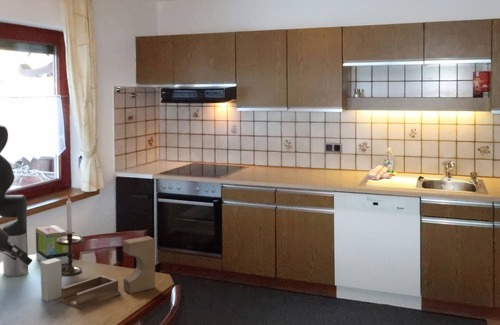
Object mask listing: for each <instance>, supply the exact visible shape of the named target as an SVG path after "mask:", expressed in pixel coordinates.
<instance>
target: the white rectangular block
mask: <svg viewBox="0 0 500 325" xmlns="http://www.w3.org/2000/svg"><path fill="white" fill-rule="evenodd" d="M39 265H40V268H39V269H40V288H41V289H40V291H41V292H40V293H41V296H40V297H41V299H42V300H44V301H46V302H48V301H51V300H54V299H55V300H56V299H58V298H61V297H62V291H61V288H63V282H62V281H63V280H62V279H63V278H62V276H63V275H62V272H61V269H62V264H61V260H59V259H56V258H53V259H49V260H45V261H42V262H41V261H40V264H39Z"/></svg>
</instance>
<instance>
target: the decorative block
mask: <svg viewBox="0 0 500 325" xmlns="http://www.w3.org/2000/svg"><path fill="white" fill-rule="evenodd" d="M122 244H123V247H122V248H123V253H125V254H126V255H128V256H129V257H130V256H131V257H132V256H133V257H134V258H135V259H136V267H135V269H134V270H133V272H132V273H131V274H130V275H128V276H126V277H124V278H123V290H124V291H125V292H127V293H129V295H132V294H136V293H139V292H143V291H144V292H145V291H147V290H152V289H155V288H156V240H155V238H154V237H151V236H149V235H146V236H141V237H135V238H128V239H123V242H122Z"/></svg>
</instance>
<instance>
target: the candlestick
mask: <svg viewBox="0 0 500 325" xmlns="http://www.w3.org/2000/svg"><path fill="white" fill-rule="evenodd" d="M70 197H71V190H70V191H69V193H68V196H67V201H66V228H67V230H66V231H67V232H66V233H65V234H67V236H64V237H60V238H57V239H56V243H57V244H59V245H68V254H67V257H68V260H67V261H68V266H67V267H66V266H65V267H63V268H62V267H61V272H62V276H65V277H68V276H69V277H71V276H76V275H80V274H81V273H82V271H83V269H82V267H80V266H73V262H74V259H73V257H74V255H75V254H74V253H73V246H74V245H79V244H82V243H83V242H84V237H83V236H81V235H74V234H75V232H74V231H73V223H72V222H73V221H72V220H73V218H72V212H73V211H72V201H71V198H70Z"/></svg>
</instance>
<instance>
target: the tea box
mask: <svg viewBox="0 0 500 325" xmlns="http://www.w3.org/2000/svg"><path fill="white" fill-rule="evenodd" d="M66 232H67V230H66V229H65V228H63V227H61V226H59V225H58V224H55V225H54V224H53V225H46V226H40V227H39V226H38V227H35V251H36V252H35V253H36V254H35V255H36V256H35V257H36V259H37V260H38V261H40V262H42V261H45V260H49V259H53V258H56V259H59V260H61V265H65V264H69V262H68V261H67V260H68V257H67V254H68V245H59V244H57V243H56V239H57V238H60V237H64V236H67V234H65V233H66Z"/></svg>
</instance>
